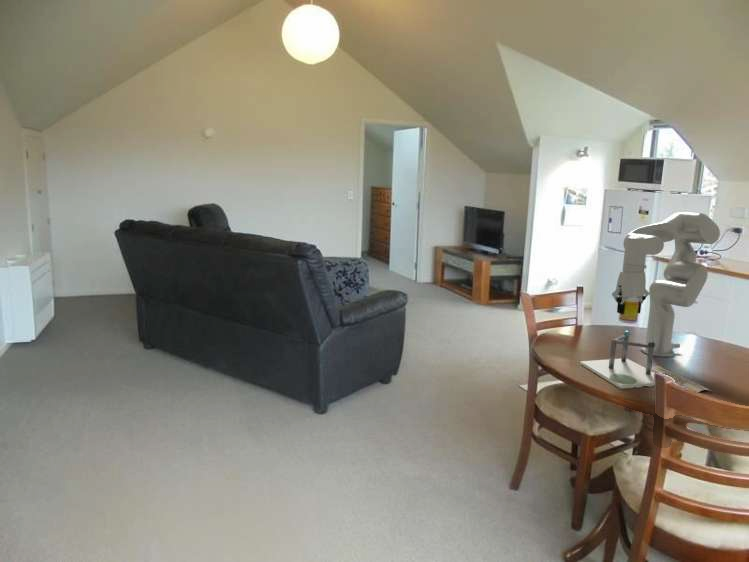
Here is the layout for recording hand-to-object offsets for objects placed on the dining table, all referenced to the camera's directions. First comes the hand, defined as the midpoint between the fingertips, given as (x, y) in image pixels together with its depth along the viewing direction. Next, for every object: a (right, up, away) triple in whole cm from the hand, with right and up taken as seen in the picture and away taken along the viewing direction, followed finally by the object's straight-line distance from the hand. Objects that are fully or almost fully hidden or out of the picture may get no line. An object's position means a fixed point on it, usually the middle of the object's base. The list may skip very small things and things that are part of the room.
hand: (628, 312), depth 207 cm
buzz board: (-5, -23, -6) cm, 24 cm away
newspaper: (+13, -25, -11) cm, 30 cm away
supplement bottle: (0, -4, +1) cm, 4 cm away
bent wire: (-3, -21, -3) cm, 22 cm away
